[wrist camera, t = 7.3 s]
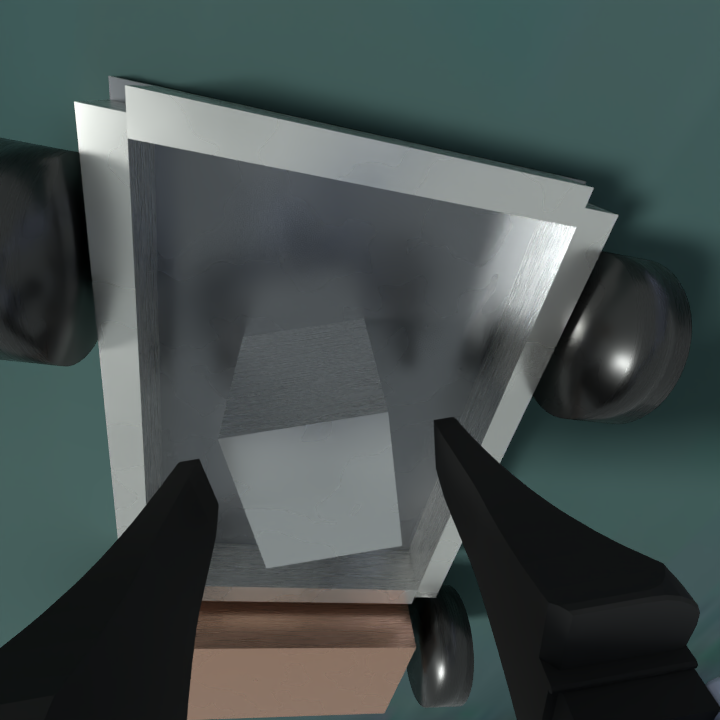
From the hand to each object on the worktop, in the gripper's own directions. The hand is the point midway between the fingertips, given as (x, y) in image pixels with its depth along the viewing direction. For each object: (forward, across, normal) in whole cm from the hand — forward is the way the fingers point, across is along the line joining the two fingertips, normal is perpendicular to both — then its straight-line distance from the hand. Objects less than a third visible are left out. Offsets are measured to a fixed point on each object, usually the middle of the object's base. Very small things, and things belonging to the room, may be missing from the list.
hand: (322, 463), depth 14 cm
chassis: (+3, +1, +3) cm, 5 cm away
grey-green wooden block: (+3, 0, -1) cm, 3 cm away
